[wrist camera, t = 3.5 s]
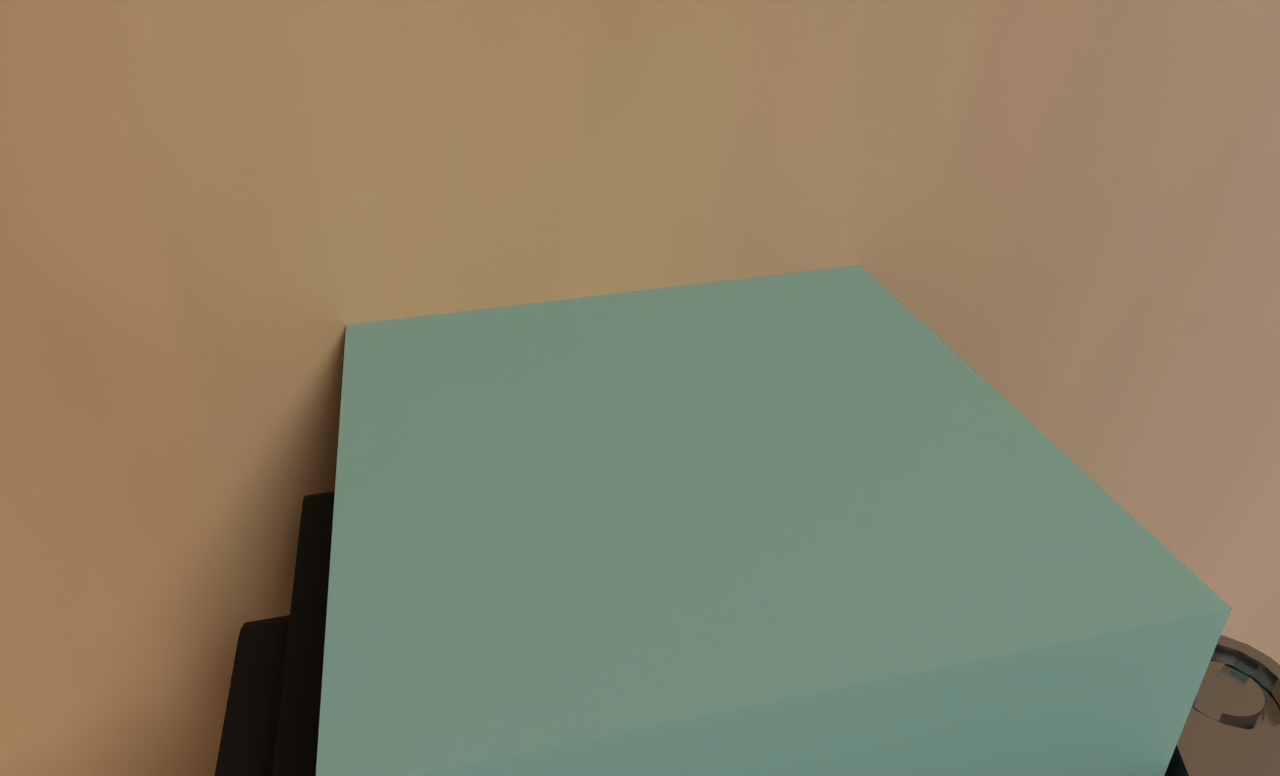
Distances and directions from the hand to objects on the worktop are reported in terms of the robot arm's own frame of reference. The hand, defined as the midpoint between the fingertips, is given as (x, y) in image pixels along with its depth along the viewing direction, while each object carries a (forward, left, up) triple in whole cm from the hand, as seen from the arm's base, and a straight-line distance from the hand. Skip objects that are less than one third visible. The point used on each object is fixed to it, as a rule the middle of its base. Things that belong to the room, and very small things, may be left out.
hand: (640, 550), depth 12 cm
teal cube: (0, 0, -1) cm, 1 cm away
